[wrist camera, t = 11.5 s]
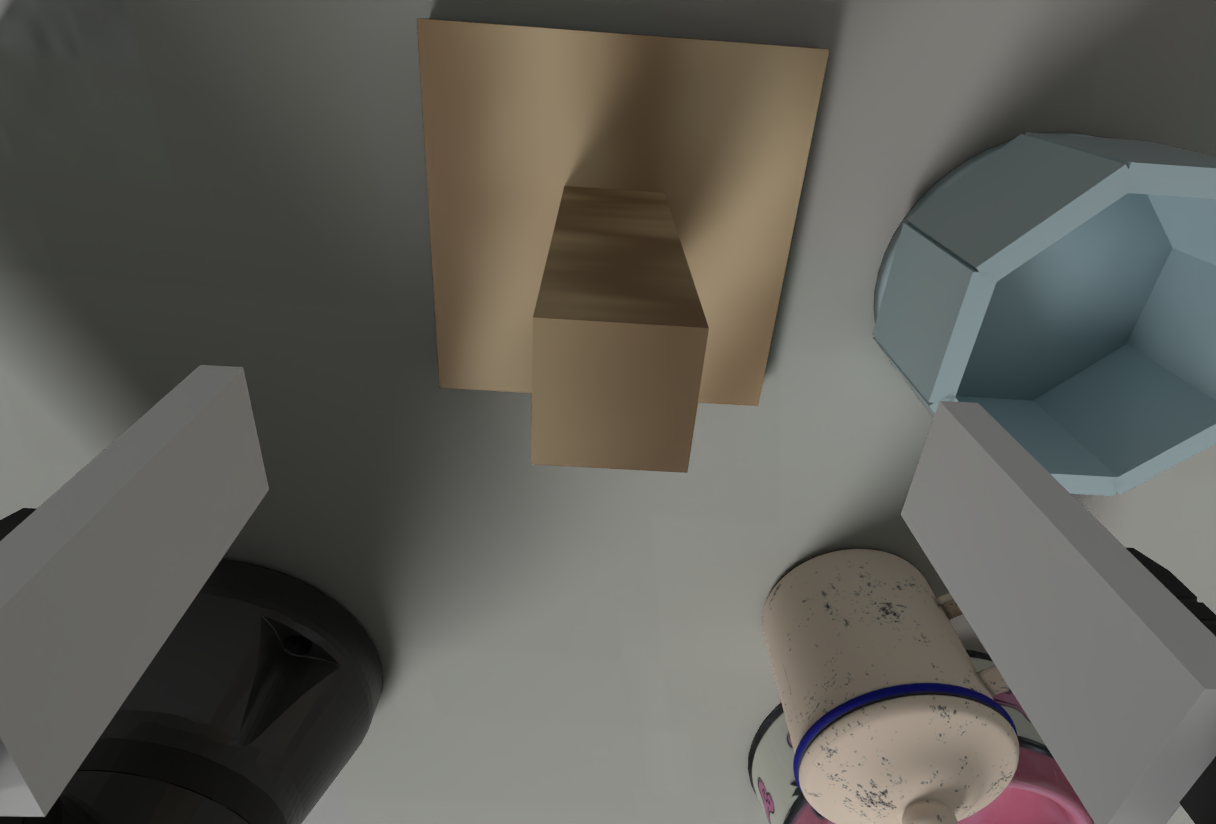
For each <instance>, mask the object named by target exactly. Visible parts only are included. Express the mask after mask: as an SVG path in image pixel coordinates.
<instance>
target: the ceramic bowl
mask: <svg viewBox="0 0 1216 824" xmlns="http://www.w3.org/2000/svg"><path fill="white" fill-rule="evenodd" d="M874 319H875V327H874V330H873V334H872V335H873V336H874V337H873V339H874V340H875V341H876V343H877V344H878V345H879V347H880V348H881V349H882V351H883V352H884V353H885V355H886V356H887V357H888V359H889V360H890V362H891V364H892V365H893V366H894V367H895V369H896V370H897V371H898V372H899V374H900V375H901V376H902V378H903V379H904V380H905V382H906V383H907V384H908V386H909V387H910V388H911V390H912V391H913V392H914V394H915V395H916V396H917V398H918V399H919V400H920V402H921V403H922V404H923V406H924V407H925V408H926V410H927V411H928V412H929V414H930V415H931V416H932V417H933V418H934V415H935V413H936V410H937V407H938V404H939V401H950V402H971V403H979V404H980V405H981V406H982V407H983V408H984V409H985V410H986V411H987V412H988V413H989V414H990V415H991V416H992V417H993V418H994V419H995V420H996V421H997V422H998V423H999V424H1000V425H1001V426H1002V427H1003V428H1004V429H1005V430H1006V431H1007V432H1008V433H1009V434H1010V435H1011V436H1012V437H1013V438H1014V439H1015V440H1016V441H1017V442H1018V443H1019V444H1020V445H1021V446H1022V447H1023V448H1024V449H1025V450H1026V451H1027V452H1028V453H1029V454H1030V455H1031V456H1032V457H1033V458H1035V459H1036V460H1037V461H1038V462H1039V463H1040V464H1041V465H1042V466H1043V467H1044V468H1045V469H1046V470H1047V471H1048V472H1049V473H1050V474H1051V475H1052V476H1053V477H1054V478H1055V479H1056V480H1057V481H1058V482H1059V483H1060V484H1061V485H1062V486H1063V487H1064V488H1065V489H1066V490H1067V491H1068V492H1069V493H1070V494H1084V495H1102V496H1115V495H1116V493H1118V494H1119V495H1120V494H1122V493H1124V492H1126V491H1128V490H1130V489H1132V488H1133V487H1135V486H1137V485H1139V484H1141V483H1143V482H1145V481H1146V480H1148V479H1150V478H1152V477H1154V476H1156V475H1158V474H1160V473H1161V472H1163V471H1165V470H1167V469H1169V468H1171V467H1173V466H1174V465H1176V464H1178V463H1180V462H1182V461H1184V460H1186V459H1187V458H1189V457H1191V456H1193V455H1195V454H1197V453H1199V452H1201V451H1202V450H1204V449H1206V448H1208V447H1210V446H1212V445H1214V444H1215V443H1216V157H1215V156H1211V155H1207V154H1203V153H1198V152H1194V151H1190V150H1186V149H1181V148H1177V147H1173V146H1169V145H1164V144H1160V143H1156V142H1152V141H1140V140H1126V139H1112V138H1099V137H1095V136H1091V135H1085V134H1079V133H1072V132H1050V133H1029V132H1025V135H1024V134H1020V135H1019V136H1017V137H1016V138H1015V139H1013V140H1010V141H1007V142H1005V143H1002V144H1000V145H997V146H995V147H992V148H989V149H987V150H985V151H983V152H982V153H980V154H978V155H976V156H974V157H972V158H970V159H968V160H967V161H965V162H964V163H962V164H961V165H959V166H958V167H956V168H955V169H953V170H952V171H950V172H949V173H948V174H947V175H945V176H944V177H943V178H942V179H941V180H939V181H938V182H937V183H936V184H935V185H933V186H932V187H931V188H930V189H929V190H928V191H927V192H926V193H925V194H924V196H923V197H922V198H921V199H920V200H919V201H918V202H917V203H916V204H915V205H914V207H913V208H912V209H911V210H910V212H909V213H908V214H907V216H906V217H905V218H904V219H903V221H902V223H901V224H900V226H899V227H898V229H897V231H896V232H895V234H894V235H893V237H892V239H891V241H890V243H889V246H888V248H887V250H886V252H885V254H884V257H883V260H882V263H881V266H880V269H879V272H878V276H877V281H876V286H875V292H874Z"/></svg>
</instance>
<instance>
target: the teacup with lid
mask: <svg viewBox="0 0 1216 824" xmlns="http://www.w3.org/2000/svg"><path fill="white" fill-rule="evenodd" d="M961 614H963V613H962V611H961V610H960V608H959V607H958V605H957V604H956V602H955V600H954V599H953V597H952V596H951V594H950V592H949V593H947V594H944V595H942V596H940V597H938V598H936V597H935V595H934V593H933V592H932V590H931V588H930V586H929V584H928V583H927V581H926V579H925V578H924V577H923V575H922V574H921V573H920V572H919V571H918V569H916V568H915V567H914V566H913V565H912V564H910V563H909V562H907V561H906V560H904V559H902V558H900V557H898V556H895V555H893V554H890V553H887V552H883V551H878V550H871V549H847V550H840V551H834V552H830V553H826V554H823V555H820V556H817V557H815V558H812V559H810V560H808V561H806V562H804V563H802V564H801V565H799V566H797V567H796V568H794V569H793V570H791V571H790V572H789V573H788V574H786V575H785V576H784V577H783V578H782V579H781V580H780V581H779V582H778V583H777V585H776V586H775V587H774V588H773V590H772V591H771V593H770V594H769V596H768V598H767V600H766V603H765V606H764V610H763V616H762V626H763V632H764V636H765V640H766V644H767V648H768V652H769V656H770V659H771V663H772V667H773V671H774V675H775V679H776V683H777V687H778V691H779V695H780V699H781V703H782V707H783V710H784V714H785V718H786V722H787V726H788V730H789V734H790V738H791V742H792V746H793V750H794V754H795V755H794V761H793V771H794V777H795V780H796V783H797V785H798V787H799V789H800V791H801V792H802V793H803V795H804V796H805V798H806V800H807V801H808V802H809V804H810V805H811V806H812V807H813V808H814V809H815V810H816V811H817V812H818V813H819V814H821V815H822V816H823V817H825V818H826V819H828V820H830V821H831V822H833V823H835V824H958V821H960V820H962V819H964V818H967V817H969V816H971V815H973V814H974V813H976V812H978V811H980V810H981V809H983V808H984V807H986V806H987V805H988V804H990V803H991V802H992V801H993V800H995V799H996V798H997V797H998V796H999V795H1000V794H1001V793H1002V792H1003V791H1004V790H1005V788H1006V787H1007V786H1008V784H1009V783H1010V781H1011V780H1012V778H1013V776H1014V774H1015V771H1016V769H1017V765H1018V761H1019V742H1018V736H1017V731H1016V727H1015V725H1014V723H1013V720H1012V719H1011V717H1010V716H1009V714H1008V713H1007V712H1006V711H1005V709H1004V708H1003V707H1002V706H1000V705H999V704H998V703H997V702H996V701H994V699H993V696H995V695H997V694H999V693H1002V692H1004V691H1007V690H1009V689H1010V688H1009V686H1008V684H1007V683H1006V681H1005V680H1004V678H1003V677H1002V675H1001V673H1000V672H999V670H998V669H997V667H996V665H993V666H991V667H988V668H986V669H984V670H981V671H979V672H978V671H977V669H976V668H975V666H974V664H973V662H972V660H971V659H970V657H969V655H968V653H967V652H966V650H965V648H964V646H963V645H962V643H961V641H960V639H959V637H958V636H957V634H956V632H955V630H954V629H953V627H952V625H951V623H950V622H949V620H950V619H951V618H954V617H956V616H959V615H961Z"/></svg>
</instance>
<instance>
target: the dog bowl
mask: <svg viewBox="0 0 1216 824" xmlns="http://www.w3.org/2000/svg"><path fill="white" fill-rule="evenodd" d="M966 652H967V653H968V655H969V657H970V659H971V660H972V662H973V664H974V666H975V668H976V669H977V671H978V672H979V671H981V670H984V669H986V668H988V667H991V666H993V665H995V664H994V662H993V661H992V659H991V657H990V656H989V654H985V653H980V652H976V651H970V650H966ZM993 699H994V701H996V702H997V703H998V704H999V705H1000V706H1002V707H1003V708H1004V709H1005V711H1006V712H1007V713H1008V714H1009V716H1010V717H1011V719H1012V720H1013V723H1014V725H1015V727H1016V731H1017V736H1018V742H1019V761H1018V765H1017V769H1016V771H1015V774H1014V776H1013V778H1012V780H1011V781H1010V783H1009V784H1008V786H1007V787H1006V788H1005V790H1004V791H1003V792H1002V793H1001V794H1000V795H999V796H998V797H997V798H996V799H995V800H993V801H992V802H991V803H990V804H988V805H987V806H986V807H984V808H983V809H981V810H980V811H978V812H976V813H974V814H973V815H971V816H969V817H967V818H964V819H962V820H960V821H958V824H1094V821H1093V819H1092V818H1091V816H1090V815H1089V813H1088V811H1087V810H1086V808H1085V807H1084V805H1083V803H1082V802H1081V800H1080V799H1079V797H1078V796H1077V794H1076V792H1075V791H1074V789H1073V788H1072V786H1071V784H1070V783H1069V781H1068V780H1067V778H1066V777H1065V775H1064V773H1063V772H1062V770H1061V769H1060V767H1059V765H1058V764H1057V762H1056V761H1055V759H1054V757H1053V756H1052V754H1051V753H1050V751H1049V750H1048V748H1047V746H1046V745H1045V743H1044V742H1043V740H1042V738H1041V737H1040V735H1039V734H1038V732H1037V730H1036V729H1035V727H1034V726H1033V724H1032V723H1031V721H1030V719H1029V718H1028V716H1027V715H1026V713H1025V711H1024V710H1023V708H1022V707H1021V705H1020V704H1019V702H1018V700H1017V699H1016V697H1015V696H1014V694H1013V692H1012V691H1011V689H1009V690H1007V691H1004V692H1002V693H999V694H997V695H995V696H993ZM794 755H795V754H794V750H793V746H792V742H791V738H790V734H789V730H788V726H787V722H786V718H785V714H784V710H783V707H782V703H781V704H779V705H778V706H777V707H776V708H775V709H774V710H773V711H772V712H771V713H770V715H769V716H768V717H767V718H766V719H765V721H764V722H763V723H762V725H761V726H760V728H759V730H758V732H757V733H756V735H755V737H754V740H753V742H752V745H751V748H750V752H749V757H748V771H749V776H750V781H751V785H752V787H753V790H754V792H755V793H756V795H757V797H758V800H759V802H760V804H761V806H762V808H763V810H764V812H765V814H766V816H767V819H768V821H769V823H770V824H835V823H833V822H831V821H830V820H828V819H826V818H825V817H823V816H822V815H821V814H819V813H818V812H817V811H816V810H815V809H814V808H813V807H812V806H811V805H810V804H809V802H808V801H807V800H806V798H805V796H804V795H803V793H802V792H801V791H800V789H799V787H798V785H797V783H796V780H795V777H794V771H793V761H794Z"/></svg>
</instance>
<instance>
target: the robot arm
mask: <svg viewBox="0 0 1216 824" xmlns="http://www.w3.org/2000/svg"><path fill="white" fill-rule="evenodd" d="M268 491H269V487H268V482H267V477H266V473H265V468H264V463H263V458H262V454H261V449H260V444H259V439H258V435H257V430H256V425H255V421H254V416H253V411H252V406H251V402H250V397H249V392H248V387H247V383H246V378H245V373H244V369H243V367H232V366H212V365H200V366H198V367H197V368H196V369H195V370H194V371H193V372H192V373H191V374H189V375H188V376H187V377H186V378H185V379H184V380H183V381H181V382H180V383H179V384H178V385H177V386H176V387H175V388H173V389H172V390H171V391H170V392H169V393H168V394H167V395H166V396H164V397H163V398H162V399H161V400H160V401H159V402H158V403H156V404H155V405H154V406H153V407H152V408H151V409H150V410H149V411H147V412H146V413H145V414H144V415H143V416H142V417H141V418H139V419H138V420H137V421H136V422H135V423H134V424H133V425H132V426H130V427H129V428H128V429H127V430H126V431H125V432H124V433H122V434H121V435H120V436H119V437H118V438H117V439H116V440H115V441H113V442H112V443H111V444H110V445H109V446H108V447H107V448H105V449H104V450H103V451H102V452H101V453H100V454H99V455H98V456H96V457H95V458H94V459H93V460H92V461H91V462H90V463H88V464H87V465H86V466H85V467H84V468H83V469H82V470H80V471H79V472H78V473H77V474H76V475H75V476H74V477H73V478H71V479H70V480H69V481H68V482H67V483H66V484H65V485H63V486H62V487H61V488H60V489H59V490H58V491H57V492H56V493H54V494H53V495H52V496H51V497H50V498H49V499H48V500H46V501H45V502H44V503H43V504H42V505H41V506H40V507H39V508H37V509H32V508H23V509H21V510H19V511H17V512H15V513H13V514H11V515H9V516H7V517H6V518H4V519H2V520H0V824H301V823H302V822H303V821H304V819H305V818H306V817H307V815H308V814H309V813H310V811H311V810H312V809H313V807H314V806H315V805H316V803H317V802H318V801H319V799H320V798H321V797H322V795H323V794H324V793H325V791H326V790H327V789H328V787H329V786H330V785H331V783H332V782H333V781H334V779H335V778H336V777H337V775H338V774H339V773H340V771H341V770H342V769H343V767H344V766H345V765H346V763H347V762H348V761H349V759H350V758H351V757H352V755H353V754H354V753H355V751H356V750H357V748H358V747H359V746H360V744H361V743H362V741H363V739H364V737H365V735H366V733H367V731H368V729H369V727H370V724H371V721H372V718H373V715H374V712H375V709H376V706H377V703H378V700H379V697H380V693H381V689H382V669H381V664H380V660H379V657H378V654H377V652H376V650H375V647H374V646H373V644H372V642H371V640H370V639H369V637H368V635H367V634H366V633H365V631H364V630H363V629H362V627H361V626H360V625H359V624H358V623H357V622H356V621H355V619H353V618H352V617H351V616H350V615H349V614H348V613H347V612H346V611H345V610H344V609H343V608H342V607H340V606H339V605H338V604H336V603H335V602H334V601H333V600H331V599H330V598H328V597H327V596H325V595H324V594H322V593H320V592H319V591H317V590H315V589H314V588H312V587H310V586H308V585H306V584H304V583H302V582H300V581H298V580H296V579H294V578H291V577H289V576H286V575H284V574H281V573H278V572H275V571H272V570H269V569H266V568H262V567H259V566H254V565H250V564H246V563H240V562H234V561H226V560H221V559H222V558H223V556H224V555H225V553H226V552H227V550H228V549H229V548H230V546H231V545H232V543H233V542H234V540H235V539H236V537H237V536H238V534H239V533H240V531H241V530H242V529H243V527H244V526H245V524H246V523H247V521H248V520H249V518H250V517H251V515H252V514H253V512H254V511H255V510H256V508H257V507H258V505H259V504H260V502H261V501H262V499H263V498H264V496H265V495H266V493H267V492H268ZM901 516H902V518H903V519H904V521H905V523H906V524H907V526H908V527H909V529H910V531H911V532H912V534H913V535H914V537H915V538H916V540H917V542H918V543H919V545H920V546H921V548H922V550H923V551H924V553H925V554H926V556H927V558H928V559H929V561H930V562H931V564H932V565H933V567H934V569H935V570H936V572H937V573H938V575H939V577H940V578H941V580H942V581H943V583H944V584H945V586H946V588H947V589H948V591H949V592H950V594H951V596H952V597H953V599H954V600H955V602H956V604H957V605H958V607H959V608H960V610H961V611H962V613H963V615H964V616H965V618H966V619H967V621H968V623H969V624H970V626H971V627H972V629H973V631H974V632H975V634H976V635H977V637H978V638H979V640H980V642H981V643H982V645H983V646H984V648H985V650H986V651H987V653H988V654H989V656H990V657H991V659H992V661H993V662H994V664H995V665H996V667H997V669H998V670H999V672H1000V673H1001V675H1002V677H1003V678H1004V680H1005V681H1006V683H1007V684H1008V686H1009V688H1010V689H1011V691H1012V692H1013V694H1014V696H1015V697H1016V699H1017V700H1018V702H1019V704H1020V705H1021V707H1022V708H1023V710H1024V711H1025V713H1026V715H1027V716H1028V718H1029V719H1030V721H1031V723H1032V724H1033V726H1034V727H1035V729H1036V730H1037V732H1038V734H1039V735H1040V737H1041V738H1042V740H1043V742H1044V743H1045V745H1046V746H1047V748H1048V750H1049V751H1050V753H1051V754H1052V756H1053V757H1054V759H1055V761H1056V762H1057V764H1058V765H1059V767H1060V769H1061V770H1062V772H1063V773H1064V775H1065V777H1066V778H1067V780H1068V781H1069V783H1070V784H1071V786H1072V788H1073V789H1074V791H1075V792H1076V794H1077V796H1078V797H1079V799H1080V800H1081V802H1082V803H1083V805H1084V807H1085V808H1086V810H1087V811H1088V813H1089V815H1090V816H1091V818H1092V819H1093V821H1094V823H1095V824H1166V823H1167V822H1168V820H1169V819H1170V818H1171V817H1172V815H1173V814H1174V813H1175V811H1176V810H1177V809H1178V808H1179V806H1180V805H1181V806H1182V807H1183V808H1184V809H1185V811H1186V812H1187V813H1188V815H1189V816H1190V817H1191V819H1192V820H1193V821H1194V823H1195V824H1216V615H1215V614H1214V613H1213V612H1212V611H1211V610H1210V609H1209V608H1208V607H1207V606H1206V605H1205V604H1204V603H1201V602H1197V597H1196V596H1195V595H1194V594H1193V593H1192V592H1191V591H1190V590H1189V589H1188V588H1187V587H1186V586H1185V585H1184V584H1183V583H1181V582H1180V581H1179V580H1178V579H1177V578H1176V577H1175V576H1174V575H1173V574H1172V573H1171V572H1170V571H1169V570H1167V569H1165V568H1164V567H1162V566H1161V565H1159V564H1158V563H1156V562H1154V561H1153V560H1151V559H1150V558H1148V557H1146V556H1145V555H1143V554H1142V553H1140V552H1139V551H1137V550H1135V549H1134V548H1125V547H1124V546H1123V545H1122V544H1121V543H1120V542H1119V541H1118V540H1117V539H1116V538H1115V537H1114V536H1113V535H1112V534H1111V533H1110V532H1109V531H1108V530H1107V529H1106V528H1105V527H1104V526H1103V525H1102V524H1101V523H1100V522H1099V521H1098V520H1097V519H1096V518H1095V517H1094V516H1093V515H1092V514H1090V513H1089V512H1088V511H1087V510H1086V509H1085V508H1084V507H1083V506H1082V505H1081V504H1080V503H1079V502H1078V501H1077V500H1076V499H1075V498H1074V497H1073V496H1072V495H1071V494H1070V493H1069V492H1068V491H1067V490H1066V489H1065V488H1064V487H1063V486H1062V485H1061V484H1060V483H1059V482H1058V481H1057V480H1056V479H1055V478H1054V477H1053V476H1052V475H1051V474H1050V473H1049V472H1048V471H1047V470H1046V469H1045V468H1044V467H1043V466H1042V465H1041V464H1040V463H1039V462H1038V461H1037V460H1036V459H1035V458H1033V457H1032V456H1031V455H1030V454H1029V453H1028V452H1027V451H1026V450H1025V449H1024V448H1023V447H1022V446H1021V445H1020V444H1019V443H1018V442H1017V441H1016V440H1015V439H1014V438H1013V437H1012V436H1011V435H1010V434H1009V433H1008V432H1007V431H1006V430H1005V429H1004V428H1003V427H1002V426H1001V425H1000V424H999V423H998V422H997V421H996V420H995V419H994V418H993V417H992V416H991V415H990V414H989V413H988V412H987V411H986V410H985V409H984V408H983V407H982V406H981V405H980V404H979V403H971V402H950V401H939V404H938V407H937V410H936V413H935V415H934V418H933V421H932V424H931V427H930V430H929V433H928V436H927V439H926V442H925V445H924V448H923V451H922V454H921V456H920V459H919V462H918V465H917V468H916V471H915V474H914V477H913V480H912V483H911V486H910V489H909V492H908V495H907V497H906V500H905V503H904V506H903V509H902V512H901Z"/></svg>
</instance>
